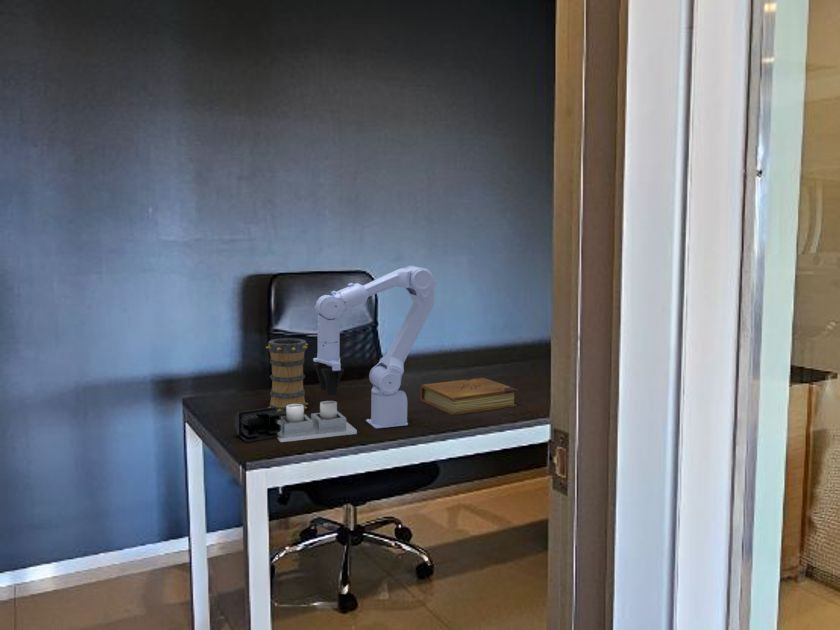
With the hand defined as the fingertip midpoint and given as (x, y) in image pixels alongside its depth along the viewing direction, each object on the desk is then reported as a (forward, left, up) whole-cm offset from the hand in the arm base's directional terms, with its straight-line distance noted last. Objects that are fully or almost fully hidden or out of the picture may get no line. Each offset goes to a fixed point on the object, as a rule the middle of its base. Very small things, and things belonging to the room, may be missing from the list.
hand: (328, 392), depth 194 cm
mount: (+5, 0, -10) cm, 11 cm away
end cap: (+19, 0, -10) cm, 21 cm away
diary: (-47, -11, -11) cm, 50 cm away
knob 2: (0, 0, -7) cm, 7 cm away
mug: (+6, -25, -10) cm, 28 cm away
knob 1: (+9, 0, -7) cm, 11 cm away
